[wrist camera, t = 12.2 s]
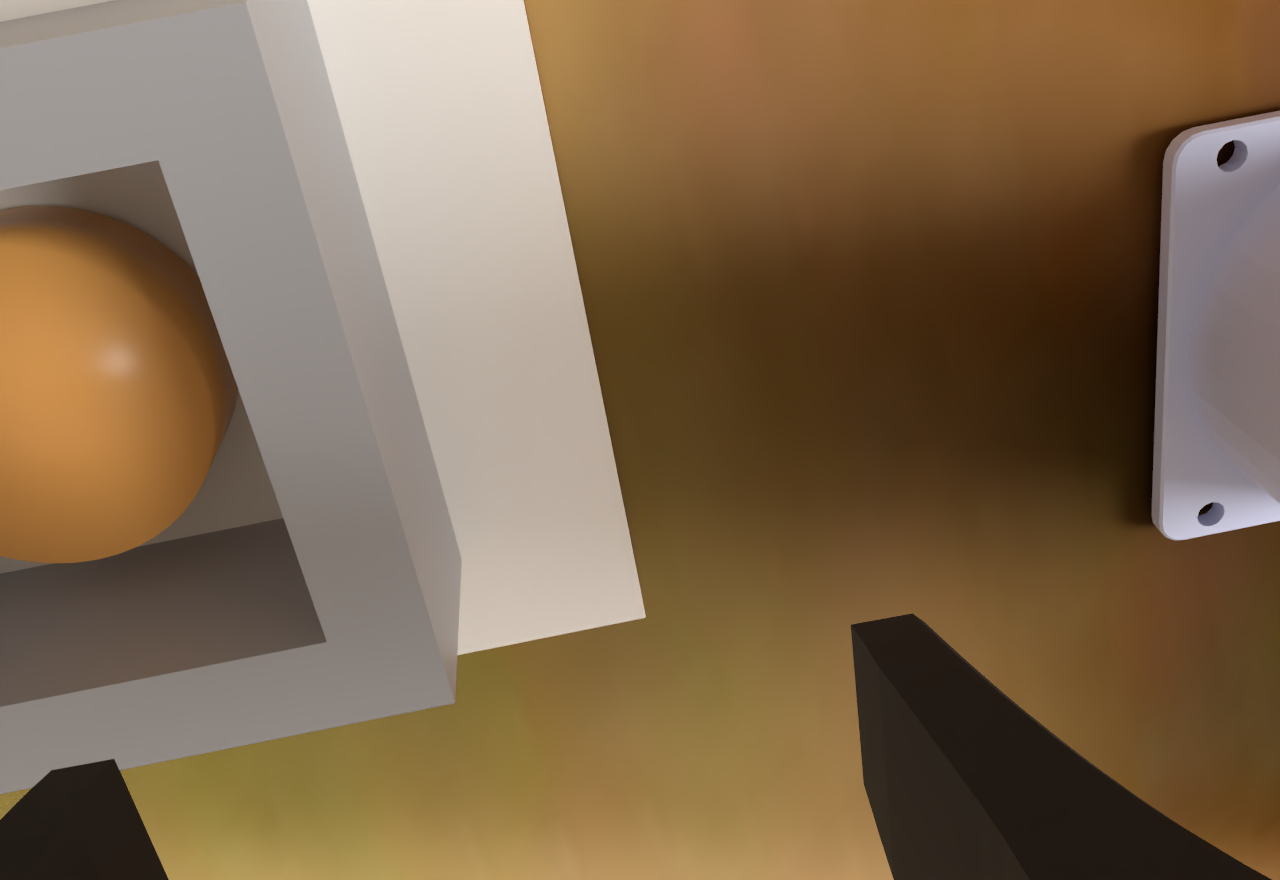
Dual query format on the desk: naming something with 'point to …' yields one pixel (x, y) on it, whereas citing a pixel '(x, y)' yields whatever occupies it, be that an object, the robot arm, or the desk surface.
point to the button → (101, 386)
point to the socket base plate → (318, 370)
